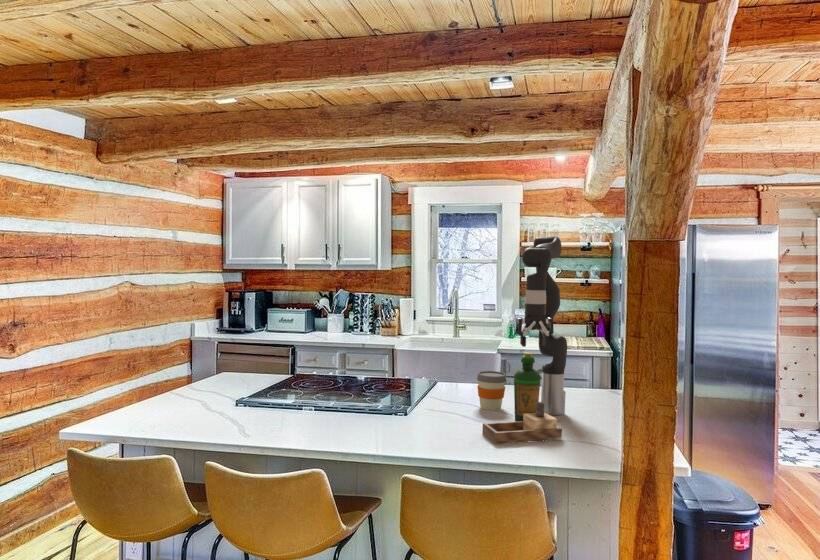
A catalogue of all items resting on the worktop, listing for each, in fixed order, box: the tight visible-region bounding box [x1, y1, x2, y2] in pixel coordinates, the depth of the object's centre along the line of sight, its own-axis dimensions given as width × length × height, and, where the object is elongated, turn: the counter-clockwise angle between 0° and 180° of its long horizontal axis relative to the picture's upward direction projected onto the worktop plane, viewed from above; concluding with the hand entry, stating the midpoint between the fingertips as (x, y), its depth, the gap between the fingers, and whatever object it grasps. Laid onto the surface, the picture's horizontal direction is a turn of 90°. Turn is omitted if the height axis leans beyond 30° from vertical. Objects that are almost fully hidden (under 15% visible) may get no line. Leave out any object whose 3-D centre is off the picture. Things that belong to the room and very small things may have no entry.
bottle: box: [513, 351, 542, 422], centre depth 238 cm, size 11×11×28 cm
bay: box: [482, 420, 563, 445], centre depth 220 cm, size 26×12×4 cm, turn 105°
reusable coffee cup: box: [476, 370, 507, 412], centre depth 260 cm, size 13×13×15 cm
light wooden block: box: [523, 401, 558, 430], centre depth 221 cm, size 9×9×11 cm
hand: (534, 346), depth 220 cm, fingers open, 8 cm apart
